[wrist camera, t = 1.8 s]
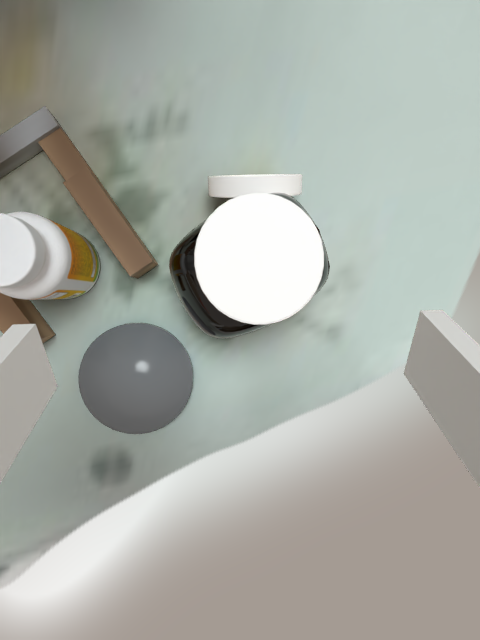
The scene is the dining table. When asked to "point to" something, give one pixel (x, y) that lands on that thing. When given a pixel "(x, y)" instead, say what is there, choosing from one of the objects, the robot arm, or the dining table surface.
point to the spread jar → (250, 256)
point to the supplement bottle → (44, 259)
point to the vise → (87, 191)
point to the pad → (136, 378)
